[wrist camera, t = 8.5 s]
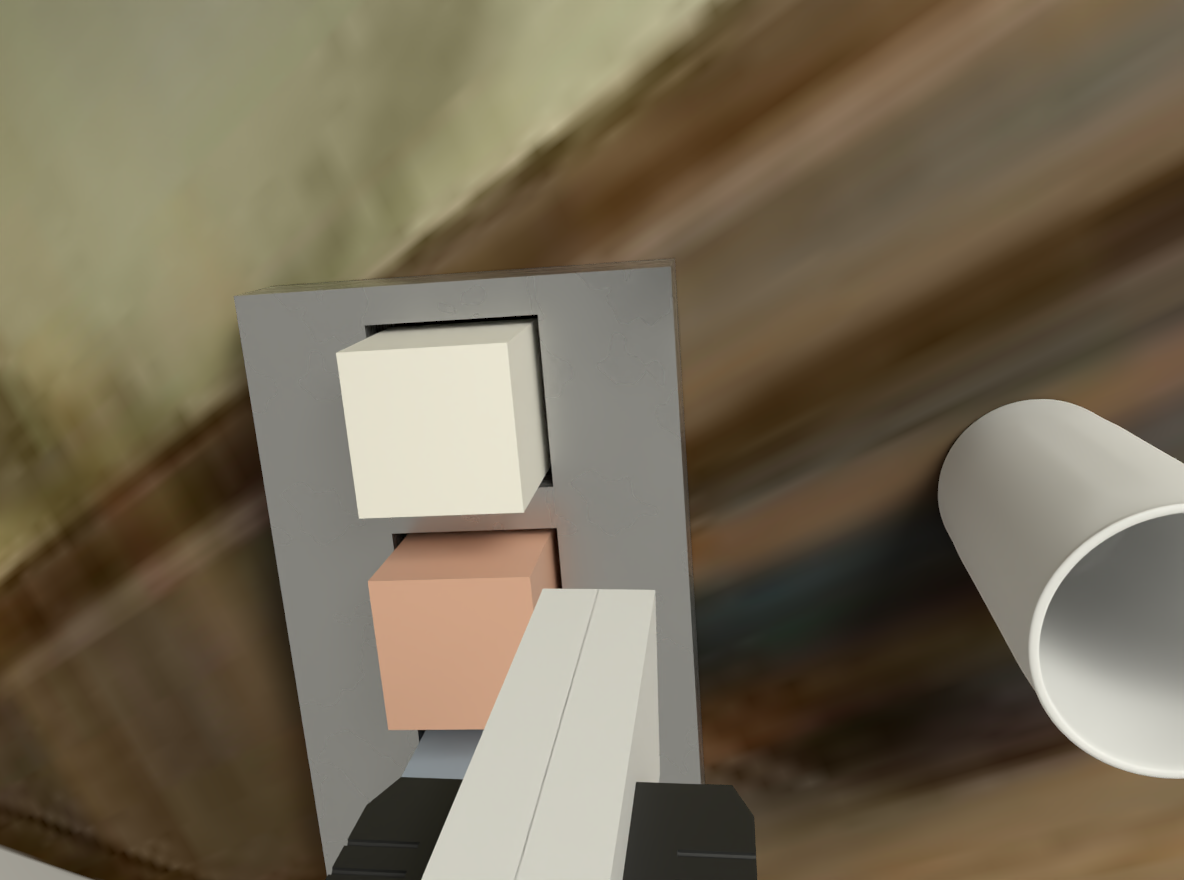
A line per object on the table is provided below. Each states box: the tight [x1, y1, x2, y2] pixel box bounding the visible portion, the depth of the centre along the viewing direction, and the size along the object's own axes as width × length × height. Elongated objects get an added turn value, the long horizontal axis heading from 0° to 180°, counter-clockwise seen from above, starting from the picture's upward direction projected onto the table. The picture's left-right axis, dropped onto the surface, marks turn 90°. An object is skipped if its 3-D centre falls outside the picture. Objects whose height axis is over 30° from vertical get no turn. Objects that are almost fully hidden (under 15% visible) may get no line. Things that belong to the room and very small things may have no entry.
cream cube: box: [336, 318, 551, 519], centre depth 32 cm, size 5×5×5 cm
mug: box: [938, 399, 1184, 779], centre depth 29 cm, size 10×7×12 cm, turn 74°
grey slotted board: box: [234, 258, 705, 876], centre depth 36 cm, size 22×14×3 cm, turn 5°
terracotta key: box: [368, 528, 562, 730], centre depth 34 cm, size 5×5×5 cm
